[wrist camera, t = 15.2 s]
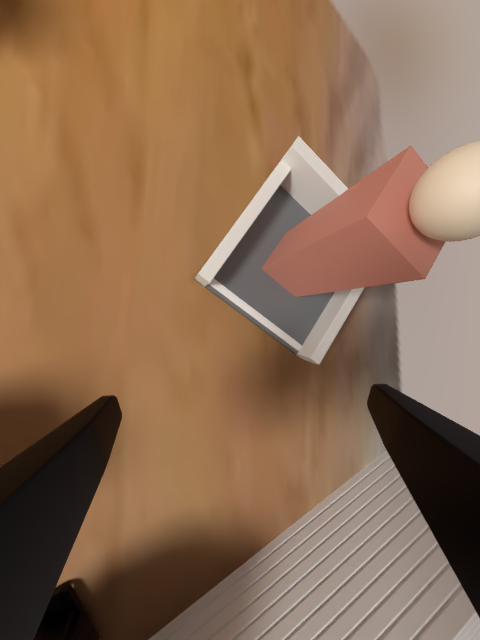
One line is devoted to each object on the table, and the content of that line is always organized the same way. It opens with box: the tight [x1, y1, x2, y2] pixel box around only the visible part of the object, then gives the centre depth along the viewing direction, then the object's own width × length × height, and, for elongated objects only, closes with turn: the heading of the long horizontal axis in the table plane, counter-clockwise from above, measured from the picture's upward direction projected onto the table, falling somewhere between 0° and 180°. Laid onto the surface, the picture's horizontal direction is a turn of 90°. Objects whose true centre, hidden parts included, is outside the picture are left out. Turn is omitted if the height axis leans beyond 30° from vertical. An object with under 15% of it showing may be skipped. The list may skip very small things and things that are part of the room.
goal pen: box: [195, 136, 365, 365], centre depth 19 cm, size 12×12×4 cm
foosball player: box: [261, 142, 480, 297], centre depth 14 cm, size 4×4×14 cm
